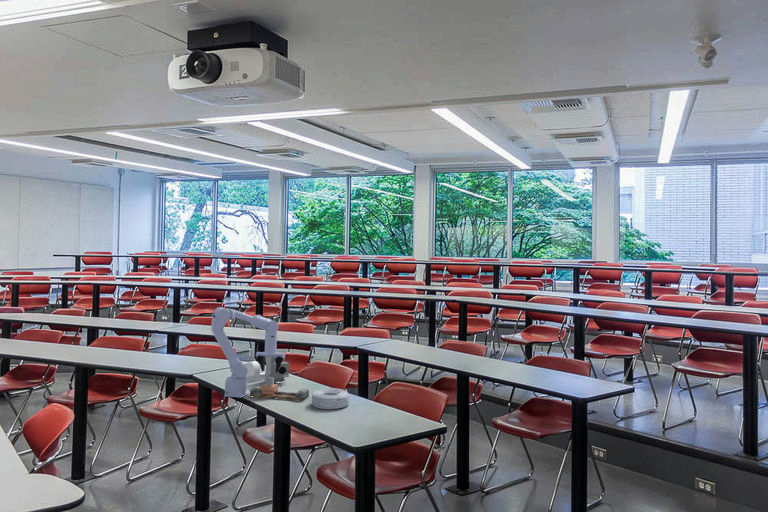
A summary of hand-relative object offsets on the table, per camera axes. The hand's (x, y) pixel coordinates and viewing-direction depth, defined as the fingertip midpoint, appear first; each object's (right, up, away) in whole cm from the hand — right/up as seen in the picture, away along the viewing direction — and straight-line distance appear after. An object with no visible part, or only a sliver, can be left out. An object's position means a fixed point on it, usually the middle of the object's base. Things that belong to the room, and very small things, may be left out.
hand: (270, 371), depth 273 cm
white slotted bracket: (-15, -11, +27) cm, 33 cm away
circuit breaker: (0, -11, +20) cm, 23 cm away
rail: (+6, -11, -8) cm, 15 cm away
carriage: (+1, -9, -7) cm, 11 cm away
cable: (+32, -12, -20) cm, 40 cm away
